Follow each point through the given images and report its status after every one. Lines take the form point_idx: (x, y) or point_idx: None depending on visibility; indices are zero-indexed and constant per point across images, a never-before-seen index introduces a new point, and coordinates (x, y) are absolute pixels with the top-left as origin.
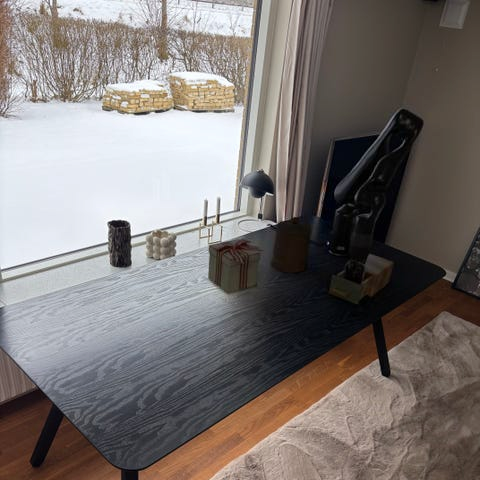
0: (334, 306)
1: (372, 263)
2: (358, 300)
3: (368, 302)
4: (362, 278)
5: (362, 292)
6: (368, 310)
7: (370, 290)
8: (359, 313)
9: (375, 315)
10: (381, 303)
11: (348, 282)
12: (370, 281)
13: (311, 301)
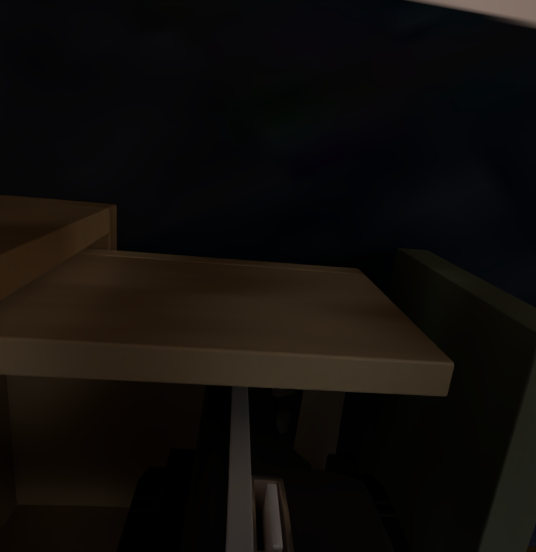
0: None
1: None
2: (449, 262)
3: (256, 185)
4: (259, 450)
5: (325, 290)
6: (420, 122)
7: None
8: (526, 176)
9: (482, 17)
10: (178, 54)
11: (518, 543)
12: (94, 309)
13: (532, 545)
